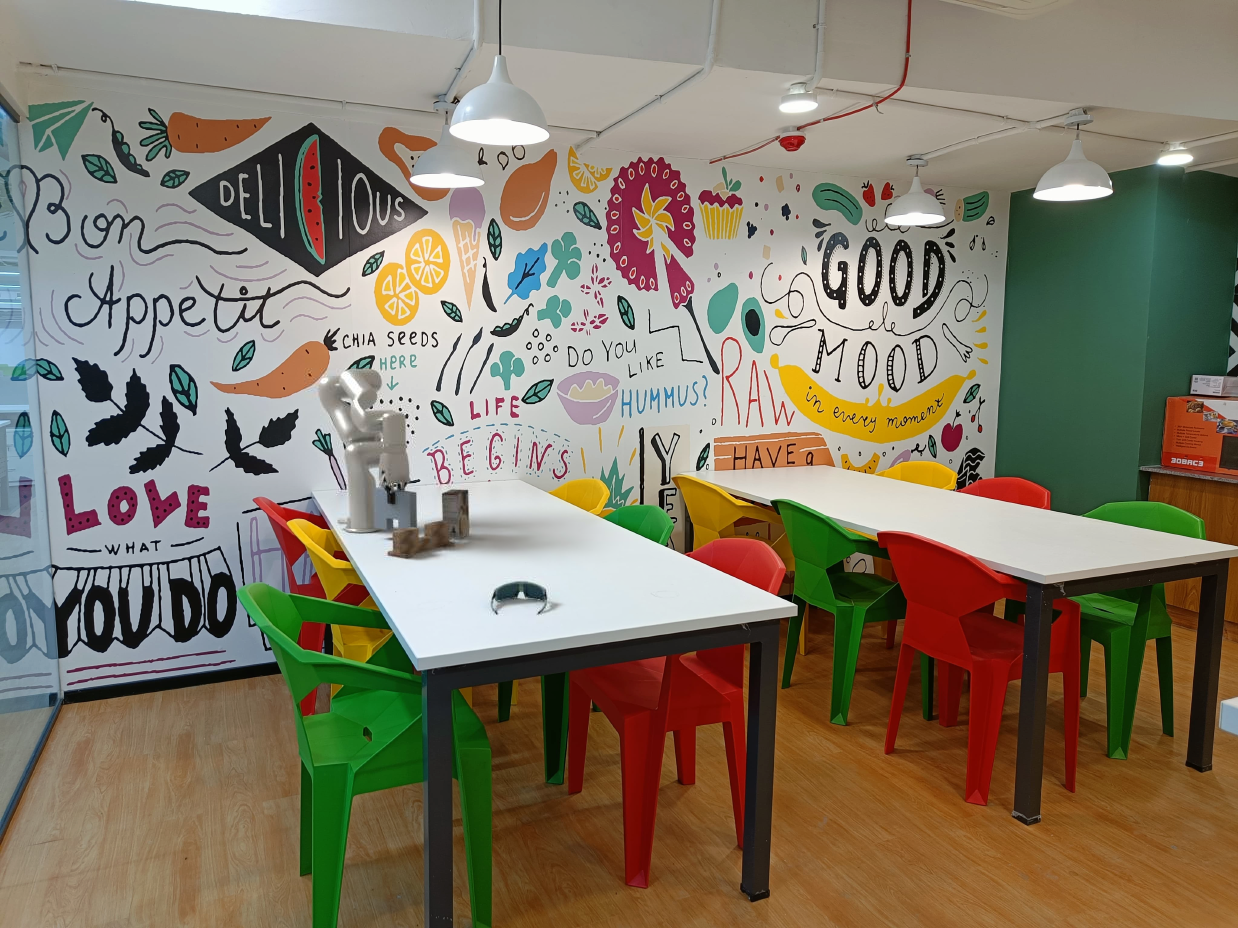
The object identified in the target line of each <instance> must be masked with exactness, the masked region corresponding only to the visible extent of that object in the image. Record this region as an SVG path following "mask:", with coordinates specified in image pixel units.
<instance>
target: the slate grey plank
mask: <svg viewBox="0 0 1238 928" xmlns="http://www.w3.org/2000/svg"><path fill="white" fill-rule="evenodd" d="M394 493H395V504H388V503H387V492H386V491H385V489H384V488H382V487H380V486H379V487H376V488H374V494H375V528H377V529H380V530H382V531H383V530H384V531H390V530H394V521H395V520H396V521H397V524H398V525H397V530H401V529H405V528H410V527H415V528H418V517H417V516H418V515H417V514H418V513H417V512H418V510H417V506H418V504H417V500H418V499H417V491H410V490H398V489H397V488H396V489H395V488H394Z"/></svg>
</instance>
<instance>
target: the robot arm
mask: <svg viewBox="0 0 1238 928" xmlns="http://www.w3.org/2000/svg"><path fill="white" fill-rule="evenodd" d="M382 381H383V380H382V377H381V375H380V373H379V372H378V371H377V370H375V369H372V368H351V369H347V370H344V371H343V372H342V373H341V374H340V375H329V376H325V377H323V378H322V379H320V381H319V382H318V387H317V392H318V393H317V394H318V398H319V401H320V402H321V405H322V407H323V408H324V409H325V412H326V413H327V414H328V415H329V417H330V418H331V420H332V423H333V425H334V427H335V429H336V432H337V435H338V436H339V438H340V441H341V442H342V443H343V444H344V445H346V447H345V450H344V455H343V456H344V461H345V466H346V471H347V481H348V483H347V484H348V485H347V486H348V487H347V488H348V510H349V511H348V512H349V514H348V516H349V517H346V518H337V524H338V525H346V526H345V527H344V529H345V531H346V532H348V533H358V534H359V533H361V534H362V533H363V534H364V533H372V532H373V533H374V532H377V531H380V530H381V529H377V528H375V494H374V488H377V482H376V479H375V476H374V475H373V473H371V471H370V469H378V482H379V483H378V486H379V487H382V488H384V489H385V491H386V492H387V503H388V504H395V493H394V489H395V487H396V489H398V490H404V491H406V487H407V485H408V484H409V483H411V478H410V463H409V456H408V452H407V448H408V445H407V442H406V441H407V434H406V433H407V432H406V427H407V426H406V424H407V423H406V415H405V413H403V412H397V411H395V410H392V409H386V410H384V409H383V410H382V409H381V410H368V409H370V408H371V407H373V406H374V405H375V404H376V402H377V400H378V392H379V391H380V390H381V388H382V386H383V385H382V383H383V382H382ZM343 399H350V400H351V401H352V402H351V405H350V404H349V403H348V402H346V401H344V400H343ZM395 485H396V486H395Z"/></svg>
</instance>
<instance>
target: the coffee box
mask: <svg viewBox="0 0 1238 928" xmlns="http://www.w3.org/2000/svg"><path fill="white" fill-rule="evenodd" d="M441 501H442V502H441V504H442V505H441V507H442V508H441V509H442V512H441V513H442V520H444V521H449V540H461V539H463V538H464V537H467V536H468V535H470V511H469V510H470V509H469V506H470V505H469V489H456V488H455V489H454V488H453V489H450V490H447V491H445V492H442V493H441Z"/></svg>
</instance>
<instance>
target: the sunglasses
mask: <svg viewBox="0 0 1238 928" xmlns="http://www.w3.org/2000/svg"><path fill="white" fill-rule="evenodd" d="M520 593H523V595H524V596H523V597H524V598H525V599H528V598H534V599H533V600H537V599H540V600H539V601H541V600H543V601H542V602H544V605H543V606H542V608H540V609H539V610H538V611H537V613H539V614H541V613H542V612H543V611H544V610H545V609H546V606H547V604H548V595H547V589H546V587H543V586H542V585H540V584H538V583H535V582H531V581H527V580H526V581H524V580H520V581H519V580H518V581H517V580H516V581H511V582H507V583H504V584H502V585H500V586H498V587H496V588H495V589H494V590H493V594H492V596H491V600H490V608H491V610H492V612H493V611H494V612H495V613H496V614H498V612H497V611H496V610H495V608H494V606H493V605H494V601H496V602H497V601H498V600H502V599H506V600H508V599H507V598H514V599H518V597H519V595H520ZM502 601H503V600H502ZM498 602H499V601H498ZM494 612H493V613H494ZM540 612H541V613H540ZM495 613H494V614H495ZM496 614H495V615H496Z"/></svg>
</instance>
